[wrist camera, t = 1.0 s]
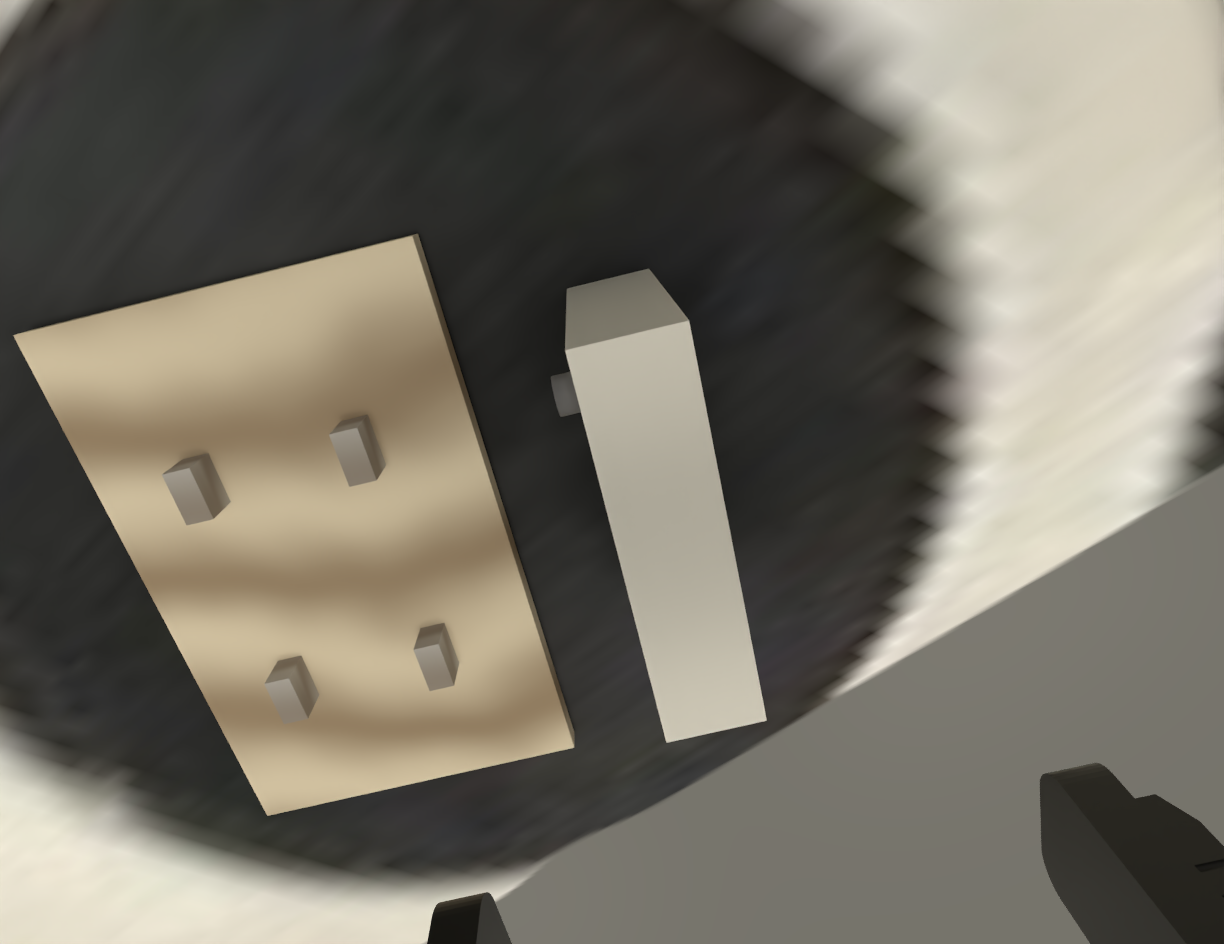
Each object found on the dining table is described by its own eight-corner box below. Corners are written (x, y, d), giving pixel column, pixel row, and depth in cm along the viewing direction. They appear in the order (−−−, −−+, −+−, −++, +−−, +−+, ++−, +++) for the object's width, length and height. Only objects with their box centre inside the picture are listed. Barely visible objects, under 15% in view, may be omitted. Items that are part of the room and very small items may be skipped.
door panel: (545, 293, 28) (532, 358, 18) (648, 268, 27) (689, 320, 18) (619, 579, 32) (640, 748, 23) (709, 559, 32) (766, 720, 23)
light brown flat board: (32, 329, 27) (-19, 344, 25) (417, 233, 26) (403, 239, 24) (275, 798, 35) (254, 843, 33) (574, 732, 35) (574, 772, 32)
